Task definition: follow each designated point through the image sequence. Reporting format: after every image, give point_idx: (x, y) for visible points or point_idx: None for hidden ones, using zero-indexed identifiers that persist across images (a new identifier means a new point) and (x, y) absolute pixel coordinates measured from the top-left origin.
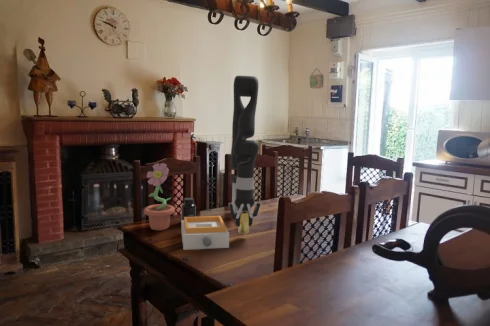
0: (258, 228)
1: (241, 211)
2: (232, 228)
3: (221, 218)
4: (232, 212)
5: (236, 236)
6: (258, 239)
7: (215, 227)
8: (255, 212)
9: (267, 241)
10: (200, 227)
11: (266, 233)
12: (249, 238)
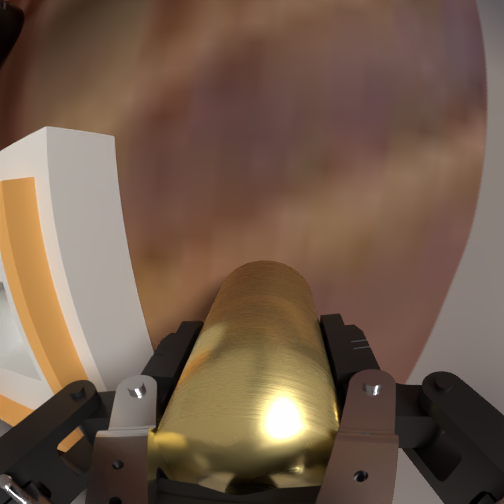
0: (412, 66)
1: (196, 454)
2: (201, 49)
3: (17, 281)
4: (80, 469)
5: (216, 243)
6: (370, 312)
7: (64, 450)
8: (426, 470)
9: (409, 344)
10: (11, 423)
11: (451, 188)
12: (312, 291)
